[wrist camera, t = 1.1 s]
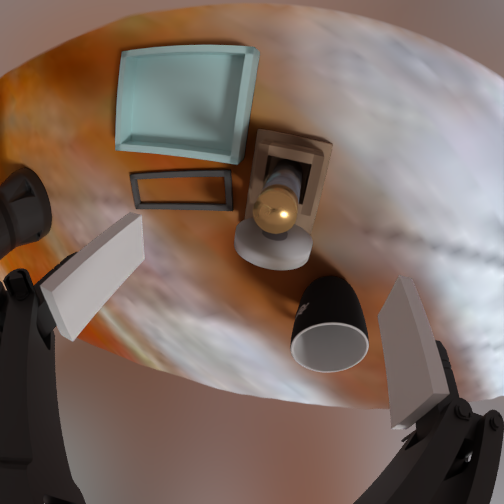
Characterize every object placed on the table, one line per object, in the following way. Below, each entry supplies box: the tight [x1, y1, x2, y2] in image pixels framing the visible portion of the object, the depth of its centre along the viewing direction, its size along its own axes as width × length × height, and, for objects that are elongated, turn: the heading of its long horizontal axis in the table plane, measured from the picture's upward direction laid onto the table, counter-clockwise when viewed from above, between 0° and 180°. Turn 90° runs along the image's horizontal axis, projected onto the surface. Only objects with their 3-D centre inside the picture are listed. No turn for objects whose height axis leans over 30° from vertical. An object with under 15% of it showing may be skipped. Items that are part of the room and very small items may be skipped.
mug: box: [290, 276, 369, 372], centre depth 33 cm, size 12×9×10 cm
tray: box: [115, 45, 260, 165], centre depth 26 cm, size 16×13×3 cm
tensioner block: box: [234, 129, 333, 270], centre depth 27 cm, size 8×12×9 cm, turn 172°
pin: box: [253, 159, 303, 234], centre depth 23 cm, size 3×3×12 cm
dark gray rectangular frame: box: [130, 170, 233, 211], centre depth 33 cm, size 14×5×1 cm, turn 92°
